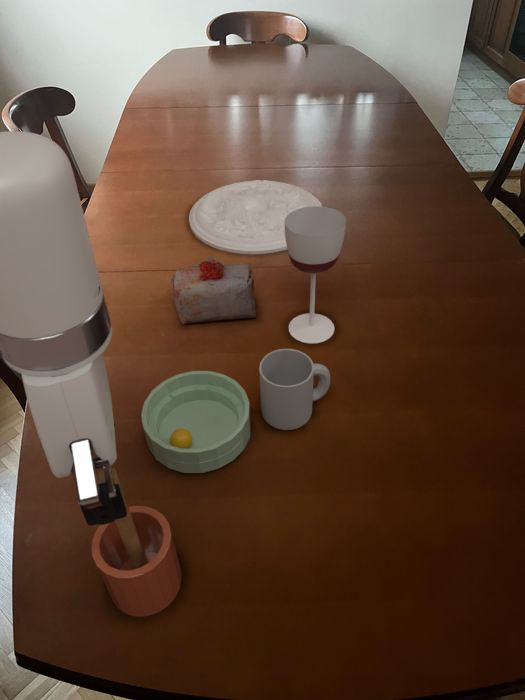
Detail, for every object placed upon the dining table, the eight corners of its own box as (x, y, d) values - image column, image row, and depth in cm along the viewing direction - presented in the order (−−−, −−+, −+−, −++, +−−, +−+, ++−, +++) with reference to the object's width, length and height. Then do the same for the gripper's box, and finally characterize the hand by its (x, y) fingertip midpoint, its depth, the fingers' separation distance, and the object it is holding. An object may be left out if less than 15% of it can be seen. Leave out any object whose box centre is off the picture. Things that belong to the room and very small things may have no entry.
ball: (171, 424, 77) (190, 423, 79) (162, 439, 79) (182, 437, 80) (180, 442, 75) (199, 440, 77) (171, 457, 77) (190, 454, 79)
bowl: (156, 487, 75) (149, 464, 72) (141, 407, 85) (135, 383, 82) (263, 460, 78) (262, 436, 74) (236, 385, 88) (234, 361, 84)
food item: (175, 330, 97) (167, 282, 91) (176, 300, 103) (168, 253, 96) (257, 323, 98) (255, 275, 91) (254, 294, 104) (251, 246, 97)
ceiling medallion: (352, 218, 121) (353, 204, 119) (245, 272, 109) (244, 257, 107) (265, 172, 137) (264, 159, 135) (163, 214, 125) (161, 200, 123)
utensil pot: (113, 626, 63) (94, 587, 56) (106, 558, 68) (88, 516, 62) (187, 604, 64) (177, 564, 58) (175, 539, 70) (164, 497, 64)
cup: (254, 400, 85) (252, 355, 79) (319, 383, 87) (321, 339, 81) (270, 437, 80) (269, 393, 74) (338, 418, 82) (342, 374, 76)
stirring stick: (139, 588, 65) (99, 483, 51) (136, 575, 66) (96, 469, 52) (153, 583, 65) (117, 478, 52) (150, 570, 66) (114, 464, 53)
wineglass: (280, 316, 99) (279, 210, 85) (330, 309, 100) (337, 203, 86) (290, 347, 93) (291, 239, 80) (343, 340, 94) (353, 231, 81)
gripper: (0, 262, 46) (56, 409, 57) (-12, 430, 33) (62, 573, 45) (98, 246, 47) (133, 392, 59) (121, 402, 35) (160, 547, 46)
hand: (102, 471), depth 52 cm, fingers open, 9 cm apart
